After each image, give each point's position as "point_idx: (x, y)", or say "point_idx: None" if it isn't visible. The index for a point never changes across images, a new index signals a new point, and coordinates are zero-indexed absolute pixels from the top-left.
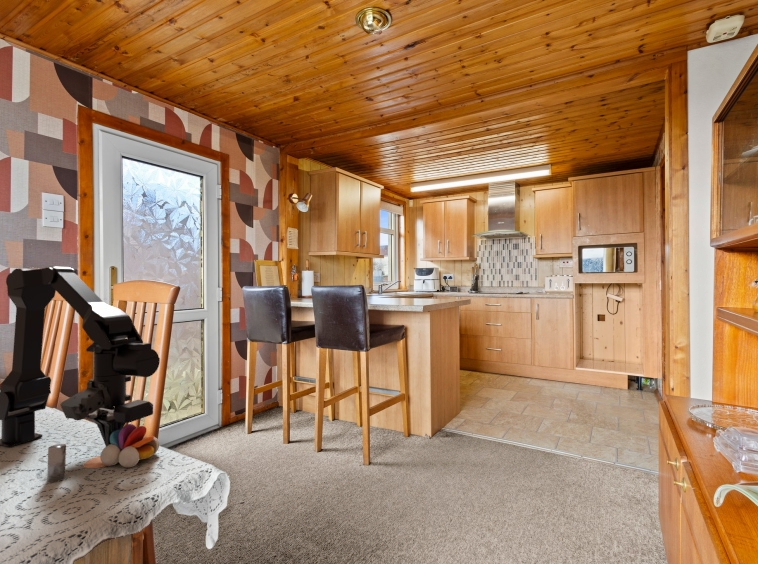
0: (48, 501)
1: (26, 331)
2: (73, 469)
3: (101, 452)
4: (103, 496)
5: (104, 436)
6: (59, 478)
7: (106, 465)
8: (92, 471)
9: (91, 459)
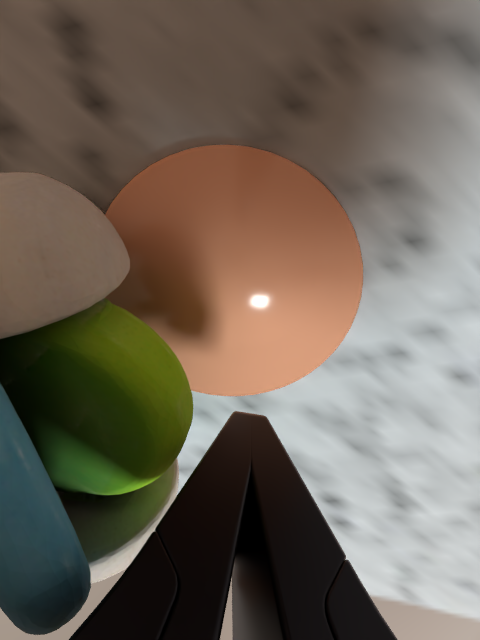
0: None
1: None
2: (354, 82)
3: (40, 225)
4: None
5: (262, 506)
6: None
7: None
8: (112, 90)
9: (341, 293)
